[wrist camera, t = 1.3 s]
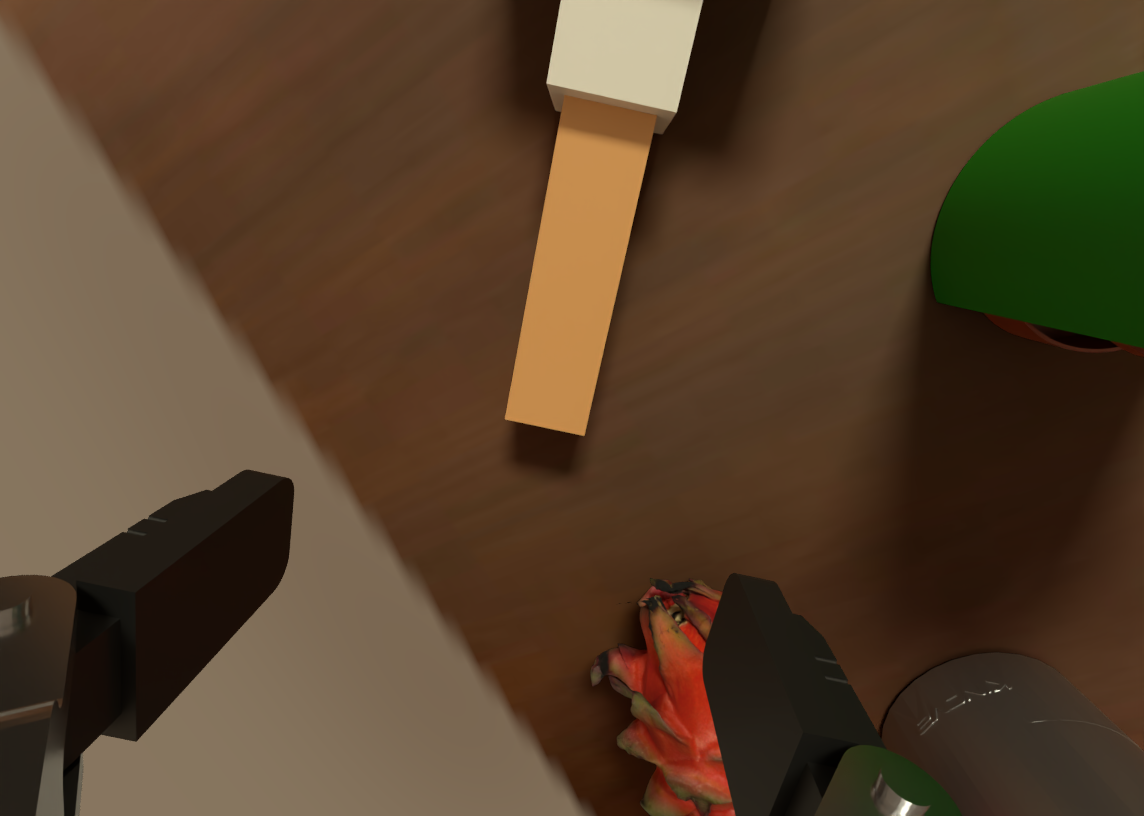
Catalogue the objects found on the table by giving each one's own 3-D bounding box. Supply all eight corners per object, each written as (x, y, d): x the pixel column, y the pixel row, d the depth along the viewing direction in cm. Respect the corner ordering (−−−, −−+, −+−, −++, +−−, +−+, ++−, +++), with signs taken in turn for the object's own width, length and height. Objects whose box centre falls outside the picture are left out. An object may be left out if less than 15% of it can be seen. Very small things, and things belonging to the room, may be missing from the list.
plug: (597, 415, 24) (597, 448, 21) (503, 395, 24) (486, 425, 21) (690, 11, 20) (712, -42, 16) (578, -15, 20) (573, -74, 16)
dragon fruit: (719, 730, 31) (642, 523, 29) (893, 770, 25) (806, 513, 24) (630, 874, 25) (527, 621, 23) (832, 971, 19) (710, 640, 17)
